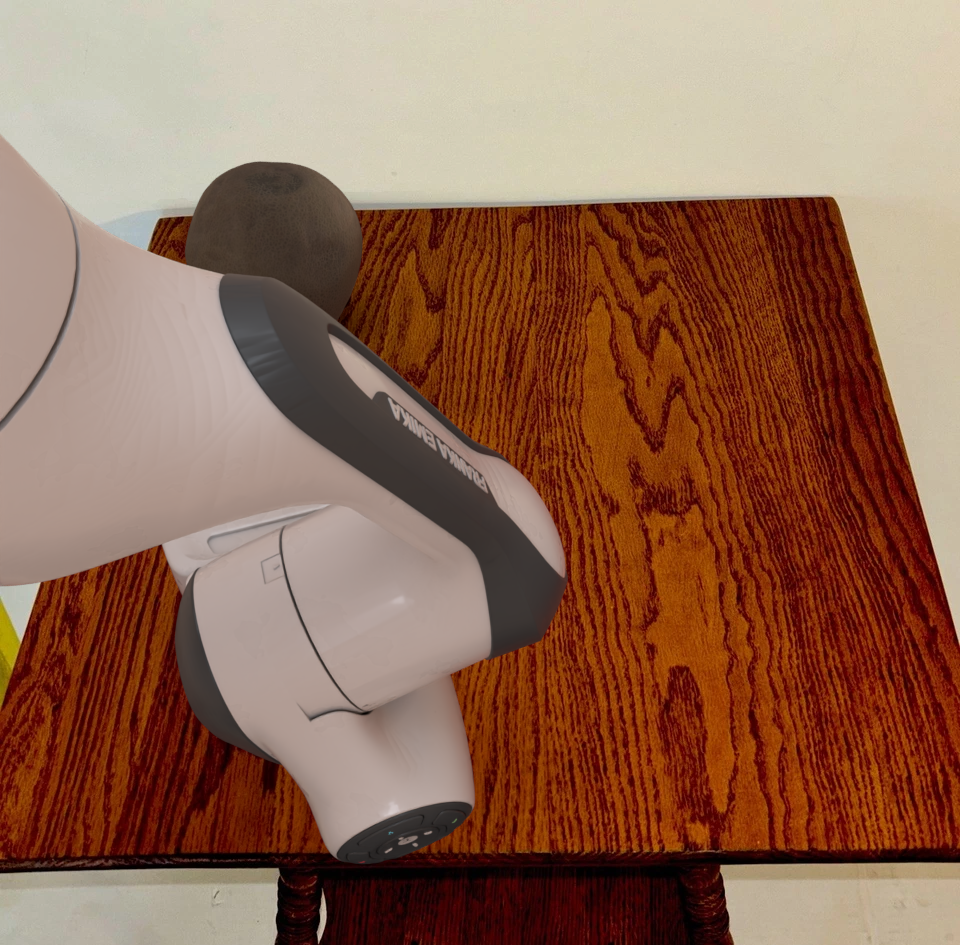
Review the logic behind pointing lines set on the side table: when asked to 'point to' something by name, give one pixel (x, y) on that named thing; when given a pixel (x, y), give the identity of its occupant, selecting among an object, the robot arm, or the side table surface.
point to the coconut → (279, 231)
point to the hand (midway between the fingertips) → (306, 434)
